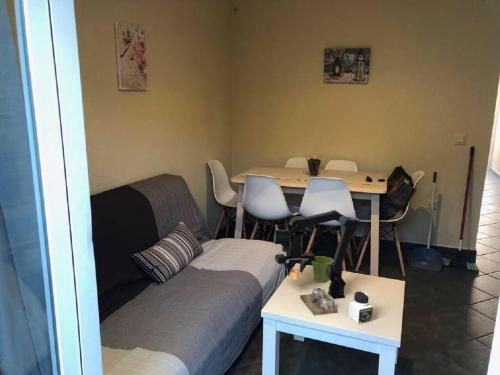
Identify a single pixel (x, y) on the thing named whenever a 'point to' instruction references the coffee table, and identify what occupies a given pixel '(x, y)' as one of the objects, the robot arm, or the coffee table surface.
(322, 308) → the gear board
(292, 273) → the orange gear
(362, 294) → the medicine bottle
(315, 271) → the plant pot
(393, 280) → the coffee table surface
